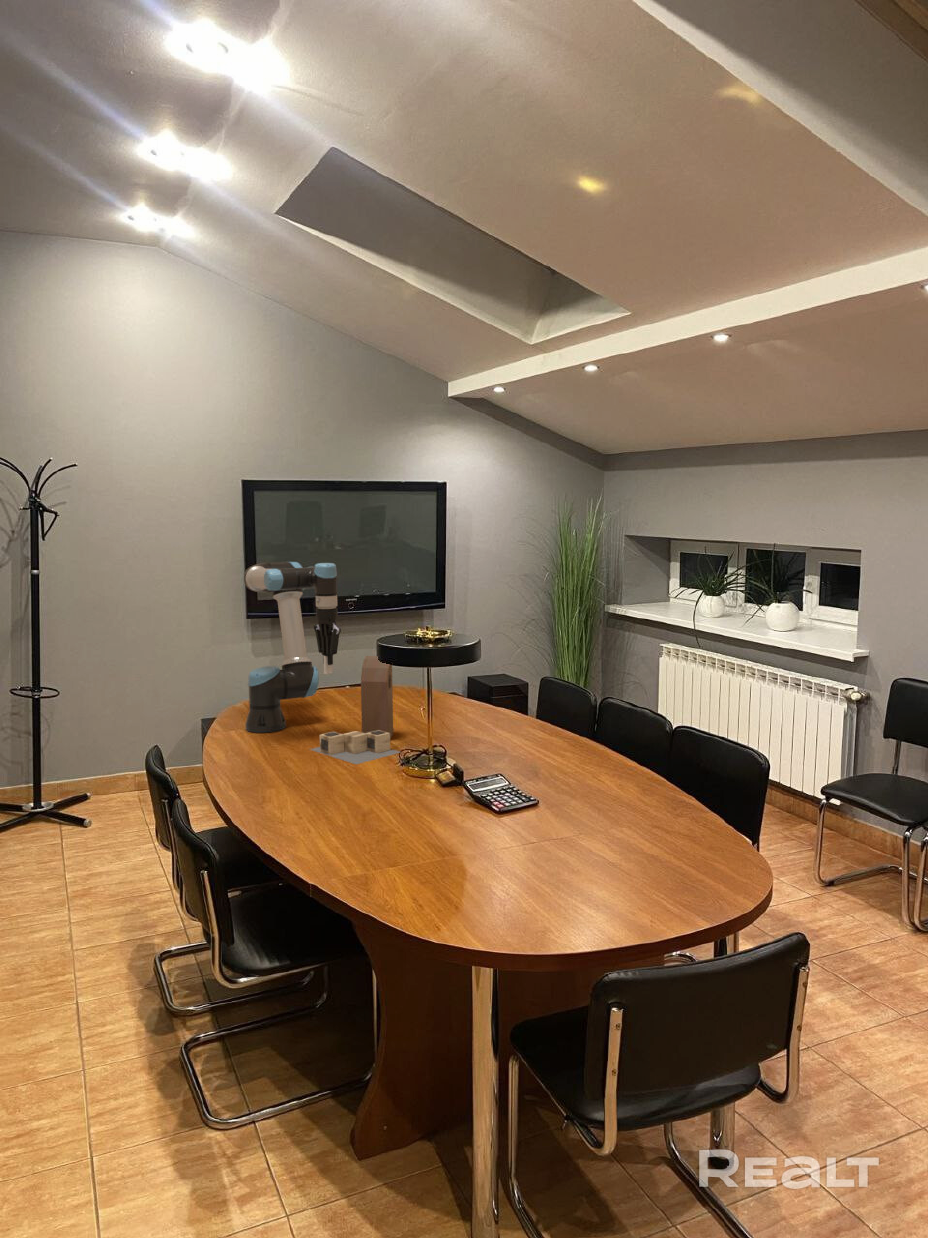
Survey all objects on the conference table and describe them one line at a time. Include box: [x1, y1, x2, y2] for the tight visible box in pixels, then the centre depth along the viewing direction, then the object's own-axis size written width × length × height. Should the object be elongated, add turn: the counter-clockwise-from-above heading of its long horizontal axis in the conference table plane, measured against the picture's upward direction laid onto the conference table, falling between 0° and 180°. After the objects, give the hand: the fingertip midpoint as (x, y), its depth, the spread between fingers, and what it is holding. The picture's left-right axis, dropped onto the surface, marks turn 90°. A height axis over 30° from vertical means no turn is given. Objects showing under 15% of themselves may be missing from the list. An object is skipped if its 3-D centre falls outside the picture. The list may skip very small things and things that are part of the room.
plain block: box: [342, 730, 367, 754], centre depth 323 cm, size 6×6×6 cm
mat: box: [309, 746, 402, 765], centre depth 324 cm, size 26×20×1 cm
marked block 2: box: [366, 730, 391, 753], centre depth 324 cm, size 6×6×6 cm
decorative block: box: [360, 655, 394, 739], centre depth 339 cm, size 10×10×30 cm
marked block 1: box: [319, 731, 344, 755], centre depth 322 cm, size 6×6×6 cm
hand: (328, 673), depth 329 cm, fingers closed
